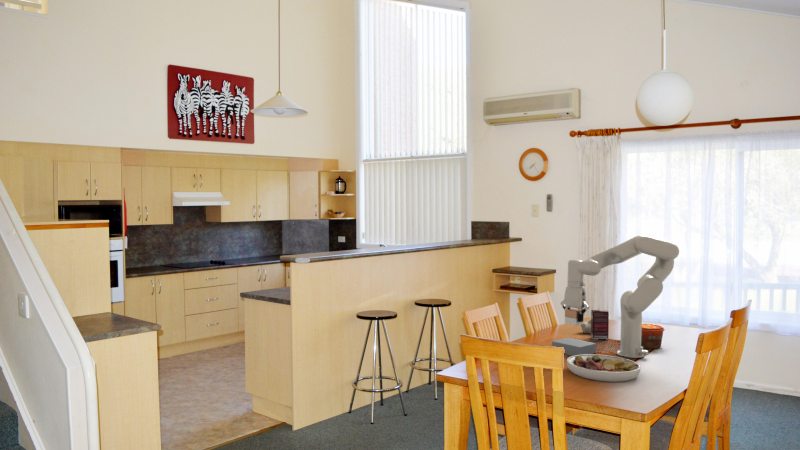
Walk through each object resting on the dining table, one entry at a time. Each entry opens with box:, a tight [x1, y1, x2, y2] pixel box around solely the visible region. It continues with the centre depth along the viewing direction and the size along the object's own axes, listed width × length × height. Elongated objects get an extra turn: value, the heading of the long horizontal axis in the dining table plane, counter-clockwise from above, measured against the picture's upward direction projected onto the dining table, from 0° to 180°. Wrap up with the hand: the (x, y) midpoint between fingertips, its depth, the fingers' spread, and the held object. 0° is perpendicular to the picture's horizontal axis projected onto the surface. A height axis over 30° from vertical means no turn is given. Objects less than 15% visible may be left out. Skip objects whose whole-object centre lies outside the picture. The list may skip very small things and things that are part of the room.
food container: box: [641, 323, 665, 350], centre depth 305 cm, size 16×16×11 cm
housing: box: [564, 307, 585, 326], centre depth 288 cm, size 6×6×7 cm
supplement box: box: [590, 309, 610, 341], centre depth 321 cm, size 9×5×16 cm, turn 84°
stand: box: [551, 337, 597, 357], centre depth 288 cm, size 16×14×5 cm
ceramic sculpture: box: [580, 319, 591, 334], centre depth 335 cm, size 11×9×15 cm
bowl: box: [566, 353, 641, 383], centre depth 251 cm, size 30×30×8 cm
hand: (574, 320), depth 288 cm, fingers closed on housing, 6 cm apart
